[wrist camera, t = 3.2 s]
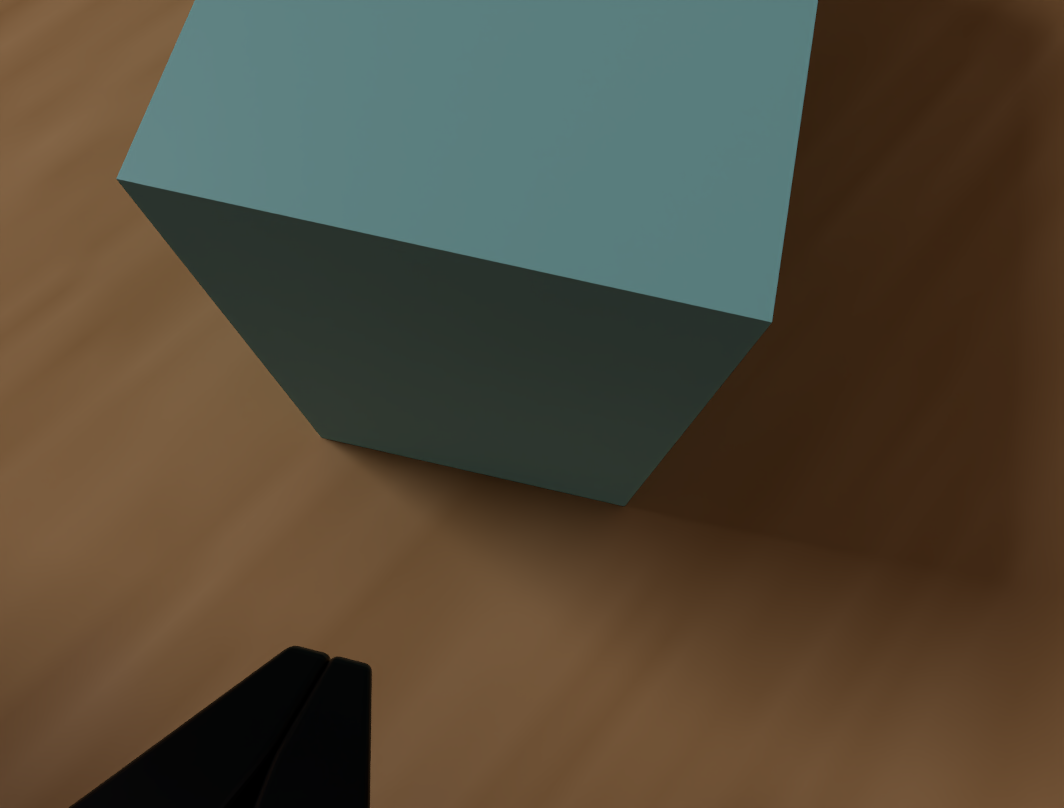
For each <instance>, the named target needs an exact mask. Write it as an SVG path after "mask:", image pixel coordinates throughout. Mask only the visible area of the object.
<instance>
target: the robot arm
mask: <svg viewBox="0 0 1064 808" xmlns="http://www.w3.org/2000/svg"><path fill="white" fill-rule="evenodd" d="M371 691H372V671H371V667H370V666H369V665H368V664H366V663H362V662H359V661H355V660H351V659H347V658H343V657H334V658H332V659H330V657H329V656H328V655H327V654H326V653H323V652H319V651H315V650H311V649H308V648H304V647H300V646H292V647H289V648H287V649H285V650H284V651H282V652H281V653H280V654H278V655H277V656H275V657H274V658H273V659H271V660H270V661H269V662H267V663H266V664H264V665H263V666H262V667H260V668H259V669H258V670H256V671H255V672H254V673H252V674H251V675H249V676H248V677H247V678H245V679H244V680H243V681H241V682H240V683H239V684H237V685H236V686H234V687H233V688H232V689H230V690H229V691H228V692H226V693H225V694H223V695H222V696H221V697H219V698H218V699H217V700H215V701H214V702H213V703H211V704H210V705H208V706H207V707H206V708H204V709H203V710H202V711H200V712H199V713H198V714H196V715H195V716H193V717H192V718H191V719H189V720H188V721H187V722H185V723H184V724H182V725H181V726H180V727H178V728H177V729H176V730H174V731H173V732H172V733H170V734H169V735H167V736H166V737H165V738H163V739H162V740H161V741H159V742H158V743H157V744H155V745H154V746H152V747H151V748H150V749H148V750H147V751H146V752H144V753H143V754H141V755H140V756H139V757H137V758H136V759H135V760H133V761H132V762H131V763H129V764H128V765H126V766H125V767H124V768H122V769H121V770H120V771H118V772H117V773H116V774H114V775H113V776H111V777H110V778H109V779H107V780H106V781H105V782H103V783H102V784H100V785H99V786H98V787H96V788H95V789H94V790H92V791H91V792H90V793H88V794H87V795H85V796H84V797H83V798H81V799H80V800H79V801H77V802H76V803H75V804H73V805H72V806H70V807H69V808H370V761H371Z"/></svg>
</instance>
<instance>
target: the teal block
mask: <svg viewBox="0 0 1064 808" xmlns="http://www.w3.org/2000/svg"><path fill="white" fill-rule="evenodd" d="M817 4H818V0H195V1H194V4H193V6H192V8H191V11H190V13H189V15H188V17H187V20H186V22H185V24H184V26H183V29H182V31H181V33H180V36H179V38H178V40H177V42H176V45H175V47H174V49H173V51H172V54H171V56H170V58H169V61H168V63H167V65H166V67H165V70H164V72H163V74H162V76H161V79H160V81H159V83H158V85H157V88H156V90H155V92H154V95H153V97H152V99H151V101H150V104H149V106H148V108H147V110H146V113H145V115H144V117H143V120H142V122H141V124H140V126H139V129H138V131H137V133H136V135H135V138H134V140H133V142H132V145H131V147H130V149H129V151H128V154H127V156H126V158H125V160H124V163H123V165H122V167H121V170H120V172H119V174H118V176H117V180H118V181H119V183H120V184H121V185H122V186H123V188H124V189H125V190H126V192H127V193H128V194H129V195H130V197H131V198H132V199H133V200H134V202H135V203H136V204H137V205H138V207H139V208H140V209H141V210H142V212H143V213H144V214H145V215H146V217H147V218H148V219H149V221H150V222H151V223H152V224H153V226H154V227H155V228H156V229H157V231H158V232H159V233H160V234H161V236H162V237H163V238H164V239H165V241H166V242H167V243H168V244H169V246H170V247H171V248H172V250H173V251H174V252H175V253H176V255H177V256H178V257H179V258H180V260H181V261H182V262H183V263H184V265H185V266H186V267H187V268H188V270H189V271H190V272H191V273H192V275H193V276H194V277H195V279H196V280H197V281H198V282H199V284H200V285H201V286H202V287H203V289H204V290H205V291H206V292H207V294H208V295H209V296H210V297H211V299H212V300H213V301H214V302H215V304H216V305H217V306H218V308H219V309H220V310H221V311H222V313H223V314H224V315H225V316H226V318H227V319H228V320H229V321H230V323H231V324H232V325H233V326H234V328H235V329H236V330H237V332H238V333H239V334H240V335H241V337H242V338H243V339H244V340H245V342H246V343H247V344H248V345H249V347H250V348H251V349H252V350H253V352H254V353H255V354H256V355H257V357H258V358H259V359H260V361H261V362H262V363H263V364H264V366H265V367H266V368H267V369H268V371H269V372H270V373H271V374H272V376H273V377H274V378H275V379H276V381H277V382H278V383H279V384H280V386H281V387H282V388H283V390H284V391H285V392H286V393H287V395H288V396H289V397H290V398H291V400H292V401H293V402H294V403H295V405H296V406H297V407H298V408H299V410H300V411H301V412H302V413H303V415H304V416H305V417H306V419H307V420H308V421H309V422H310V424H311V425H312V426H313V427H314V429H315V430H316V431H317V432H318V434H319V435H320V436H321V437H322V438H326V439H330V440H334V441H339V442H343V443H348V444H352V445H357V446H361V447H365V448H370V449H374V450H379V451H383V452H387V453H392V454H396V455H401V456H405V457H409V458H414V459H418V460H423V461H427V462H431V463H436V464H440V465H445V466H449V467H453V468H458V469H462V470H467V471H471V472H475V473H480V474H484V475H489V476H493V477H497V478H502V479H506V480H511V481H515V482H519V483H524V484H528V485H533V486H537V487H541V488H546V489H550V490H555V491H559V492H563V493H568V494H572V495H577V496H581V497H585V498H590V499H594V500H599V501H603V502H607V503H612V504H616V505H621V506H625V505H626V504H627V503H628V502H629V500H630V499H631V498H632V497H633V495H634V494H635V493H636V492H637V490H638V489H639V488H640V487H641V485H642V484H643V483H644V482H645V480H646V479H647V478H648V477H649V475H650V474H651V473H652V472H653V470H654V469H655V468H656V467H657V465H658V464H659V463H660V462H661V460H662V459H663V458H664V457H665V455H666V454H667V453H668V452H669V450H670V449H671V448H672V447H673V445H674V444H675V443H676V442H677V440H678V439H679V438H680V437H681V435H682V434H683V433H684V432H685V430H686V429H687V428H688V427H689V425H690V424H691V423H692V422H693V420H694V419H695V418H696V417H697V415H698V414H699V413H700V412H701V410H702V409H703V408H704V407H705V405H706V404H707V403H708V402H709V400H710V399H711V398H712V397H713V395H714V394H715V393H716V392H717V390H718V389H719V388H720V387H721V385H722V384H723V383H724V382H725V380H726V379H727V378H728V377H729V375H730V374H731V373H732V372H733V370H734V369H735V368H736V367H737V365H738V364H739V363H740V362H741V360H742V359H743V358H744V357H745V355H746V354H747V353H748V352H749V350H750V349H751V348H752V347H753V345H754V344H755V343H756V342H757V340H758V339H759V338H760V337H761V335H762V334H763V333H764V332H765V330H766V329H767V328H768V327H769V325H770V324H771V323H772V319H773V312H774V305H775V298H776V291H777V284H778V277H779V270H780V263H781V256H782V249H783V242H784V235H785V228H786V221H787V214H788V207H789V200H790V193H791V186H792V179H793V172H794V165H795V158H796V151H797V144H798V137H799V130H800V123H801V116H802V109H803V102H804V95H805V88H806V81H807V74H808V67H809V60H810V53H811V46H812V39H813V32H814V25H815V18H816V11H817Z"/></svg>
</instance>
